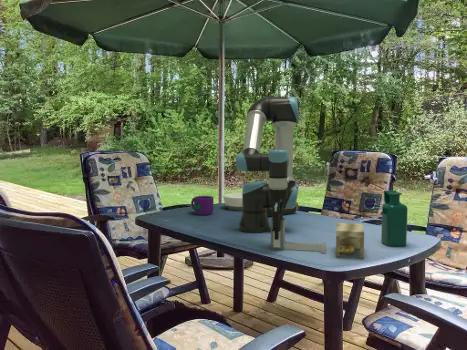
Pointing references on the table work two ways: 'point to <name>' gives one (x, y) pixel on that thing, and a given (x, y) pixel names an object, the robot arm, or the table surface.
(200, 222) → the table surface
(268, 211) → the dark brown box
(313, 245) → the bracket
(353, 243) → the shelf
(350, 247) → the yellow lumpy disc
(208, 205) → the mug
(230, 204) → the bowl
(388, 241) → the green bottle
